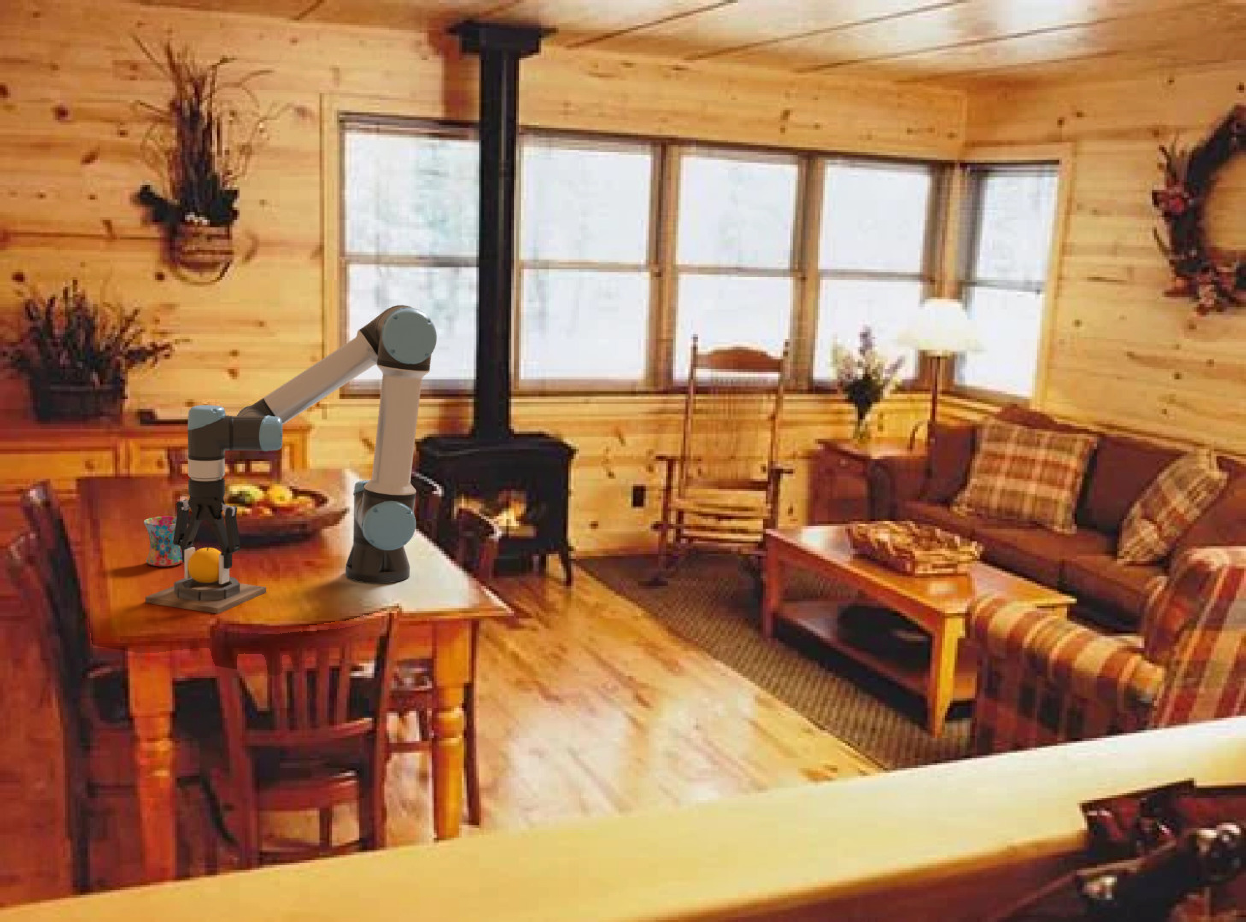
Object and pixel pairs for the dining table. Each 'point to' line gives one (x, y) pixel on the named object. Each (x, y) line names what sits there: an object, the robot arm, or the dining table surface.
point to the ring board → (206, 605)
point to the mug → (162, 541)
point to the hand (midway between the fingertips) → (206, 579)
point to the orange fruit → (204, 565)
